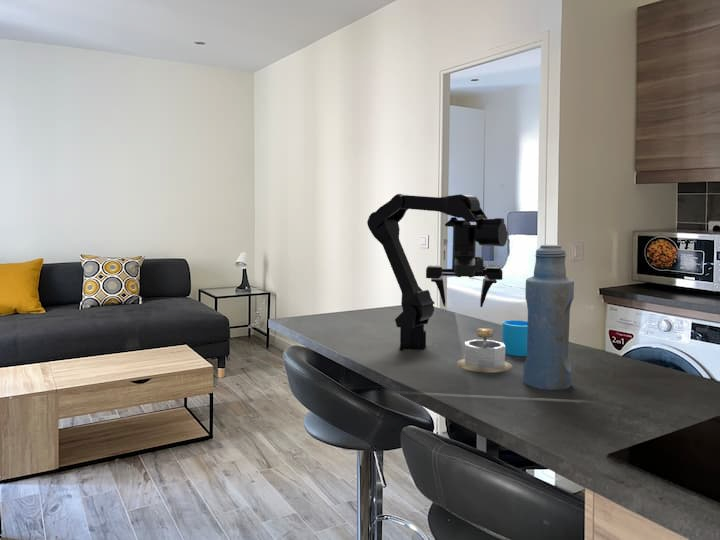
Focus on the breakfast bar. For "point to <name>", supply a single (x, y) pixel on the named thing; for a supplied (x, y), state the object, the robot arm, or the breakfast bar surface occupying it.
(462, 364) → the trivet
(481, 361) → the grey piece
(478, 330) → the plunger
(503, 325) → the mug
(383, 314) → the breakfast bar surface
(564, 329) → the bottle
